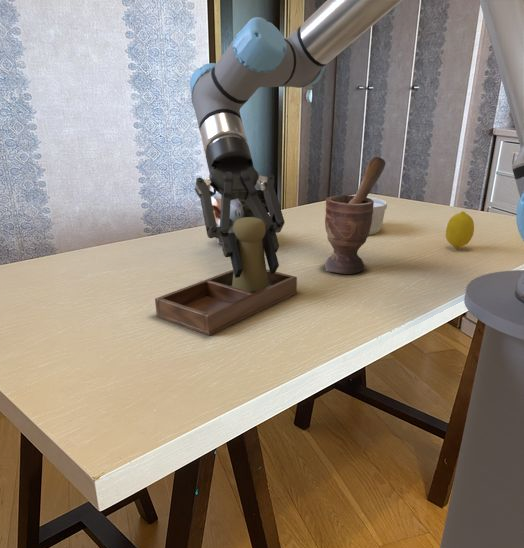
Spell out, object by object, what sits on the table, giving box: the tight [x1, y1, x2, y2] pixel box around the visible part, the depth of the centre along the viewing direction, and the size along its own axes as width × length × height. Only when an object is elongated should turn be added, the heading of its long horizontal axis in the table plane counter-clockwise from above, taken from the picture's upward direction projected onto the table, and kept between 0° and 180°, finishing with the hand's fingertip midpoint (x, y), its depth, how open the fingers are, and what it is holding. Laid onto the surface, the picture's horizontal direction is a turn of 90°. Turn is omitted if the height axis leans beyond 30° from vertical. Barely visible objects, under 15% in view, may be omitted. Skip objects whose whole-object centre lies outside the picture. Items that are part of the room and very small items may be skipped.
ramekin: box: [366, 196, 388, 236], centre depth 127 cm, size 13×13×7 cm
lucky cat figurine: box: [210, 190, 264, 248], centre depth 114 cm, size 15×12×14 cm
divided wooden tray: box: [154, 268, 298, 337], centre depth 85 cm, size 11×21×3 cm, turn 142°
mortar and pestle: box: [324, 156, 386, 275], centre depth 98 cm, size 12×9×20 cm
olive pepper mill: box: [232, 217, 268, 291], centre depth 86 cm, size 6×6×11 cm
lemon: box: [445, 210, 475, 250], centre depth 112 cm, size 6×6×8 cm
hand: (256, 271), depth 83 cm, fingers closed on olive pepper mill, 5 cm apart
